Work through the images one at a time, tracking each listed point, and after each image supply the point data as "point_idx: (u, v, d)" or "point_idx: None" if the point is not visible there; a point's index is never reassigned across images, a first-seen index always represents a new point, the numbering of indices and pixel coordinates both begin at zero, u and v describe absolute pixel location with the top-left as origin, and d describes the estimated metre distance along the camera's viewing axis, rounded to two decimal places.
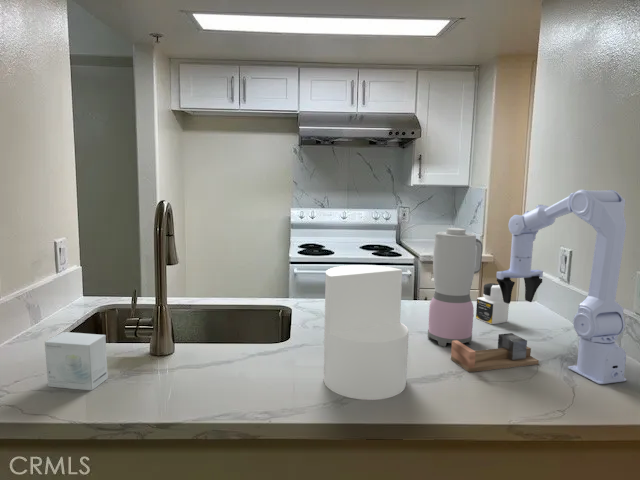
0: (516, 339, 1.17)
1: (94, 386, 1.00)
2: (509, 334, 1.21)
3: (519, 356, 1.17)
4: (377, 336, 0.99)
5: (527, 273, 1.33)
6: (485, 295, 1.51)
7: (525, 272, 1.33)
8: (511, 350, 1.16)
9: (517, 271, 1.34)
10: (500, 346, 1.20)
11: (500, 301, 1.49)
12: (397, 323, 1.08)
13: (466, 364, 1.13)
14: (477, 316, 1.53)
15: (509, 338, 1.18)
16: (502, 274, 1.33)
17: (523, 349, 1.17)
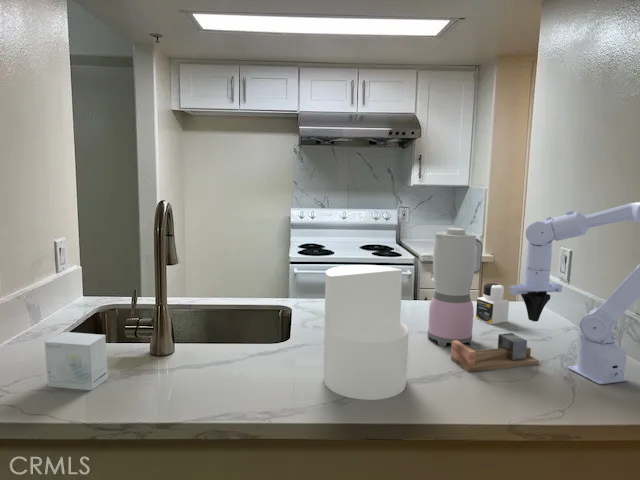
0: (516, 339, 1.17)
1: (94, 386, 1.00)
2: (509, 334, 1.21)
3: (519, 356, 1.17)
4: (377, 336, 0.99)
5: (545, 288, 1.16)
6: (485, 295, 1.51)
7: (542, 287, 1.16)
8: (511, 350, 1.16)
9: (533, 285, 1.16)
10: (500, 346, 1.20)
11: (500, 301, 1.49)
12: (397, 323, 1.08)
13: (466, 364, 1.13)
14: (477, 316, 1.53)
15: (509, 338, 1.18)
16: (516, 289, 1.16)
17: (523, 349, 1.17)
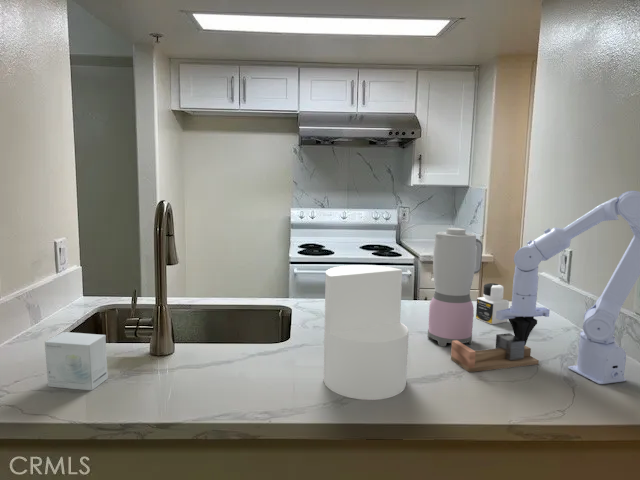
0: (514, 339, 1.17)
1: (94, 386, 1.00)
2: (507, 334, 1.21)
3: (517, 357, 1.17)
4: (377, 336, 0.99)
5: (531, 313, 1.16)
6: (485, 295, 1.51)
7: (529, 312, 1.16)
8: (509, 350, 1.16)
9: (520, 311, 1.16)
10: (498, 346, 1.20)
11: (500, 301, 1.49)
12: (397, 323, 1.08)
13: (466, 364, 1.13)
14: (477, 316, 1.53)
15: (507, 339, 1.18)
16: (503, 314, 1.16)
17: (520, 349, 1.16)
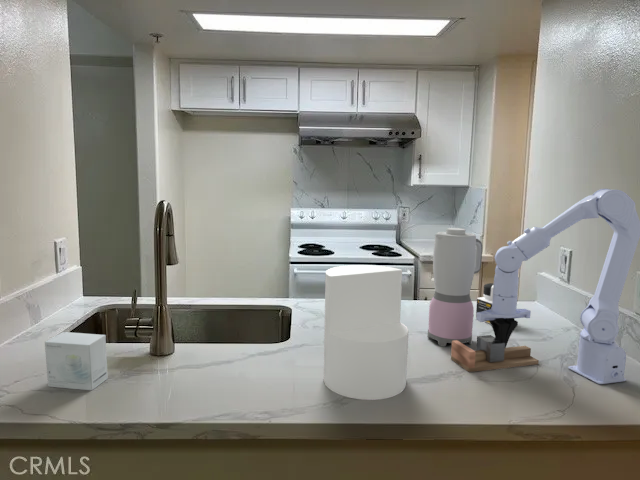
0: (494, 341, 1.16)
1: (94, 386, 1.00)
2: (488, 336, 1.19)
3: (497, 359, 1.15)
4: (377, 336, 0.99)
5: (512, 315, 1.14)
6: (485, 295, 1.51)
7: (509, 313, 1.14)
8: (489, 352, 1.15)
9: (500, 312, 1.15)
10: (478, 348, 1.19)
11: None
12: (397, 323, 1.08)
13: (466, 364, 1.13)
14: None
15: (487, 341, 1.16)
16: (482, 316, 1.14)
17: (500, 351, 1.15)
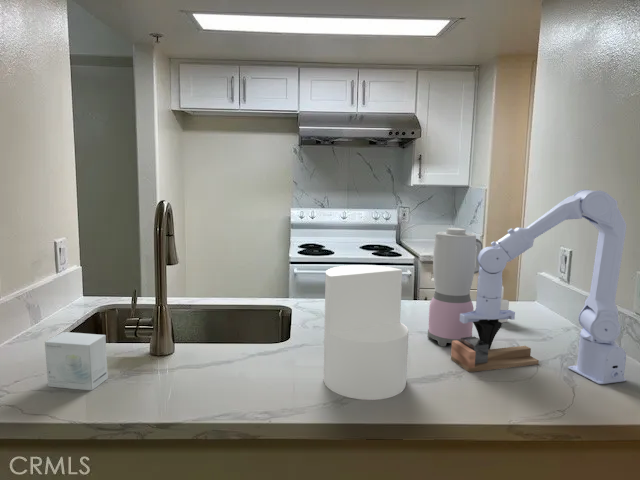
0: (478, 343, 1.14)
1: (94, 386, 1.00)
2: (471, 337, 1.18)
3: (481, 361, 1.14)
4: (377, 336, 0.99)
5: (495, 316, 1.13)
6: None
7: (493, 315, 1.13)
8: None
9: (484, 313, 1.13)
10: None
11: None
12: (397, 323, 1.08)
13: (466, 364, 1.13)
14: None
15: (470, 342, 1.15)
16: (466, 317, 1.13)
17: (484, 353, 1.14)
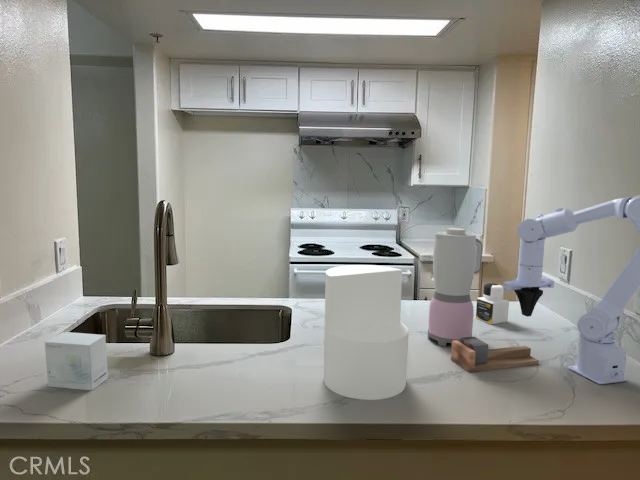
0: (478, 343, 1.14)
1: (94, 386, 1.00)
2: (471, 338, 1.18)
3: (480, 361, 1.14)
4: (377, 336, 0.99)
5: (537, 283, 1.19)
6: (485, 295, 1.51)
7: (535, 282, 1.19)
8: None
9: (526, 281, 1.20)
10: None
11: (500, 301, 1.49)
12: (397, 323, 1.08)
13: (466, 364, 1.13)
14: (477, 316, 1.53)
15: (470, 342, 1.15)
16: (510, 285, 1.19)
17: (484, 353, 1.14)
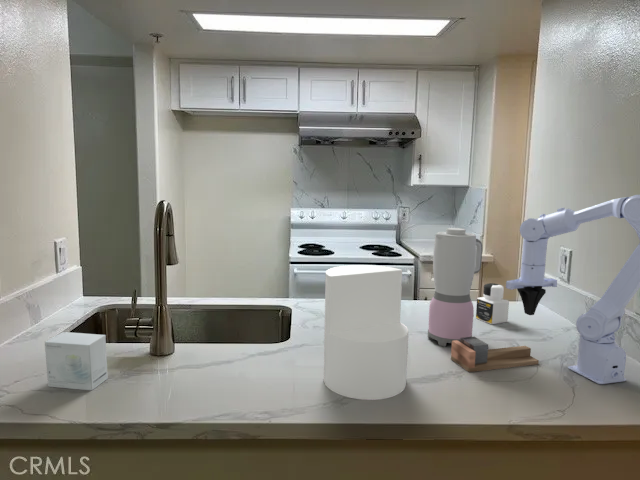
0: (478, 343, 1.14)
1: (94, 386, 1.00)
2: (471, 338, 1.18)
3: (480, 361, 1.14)
4: (377, 336, 0.99)
5: (540, 283, 1.20)
6: (485, 295, 1.51)
7: (538, 281, 1.20)
8: None
9: (529, 280, 1.21)
10: None
11: (500, 301, 1.49)
12: (397, 323, 1.08)
13: (466, 364, 1.13)
14: (477, 316, 1.53)
15: (470, 342, 1.15)
16: (512, 284, 1.20)
17: (484, 353, 1.14)
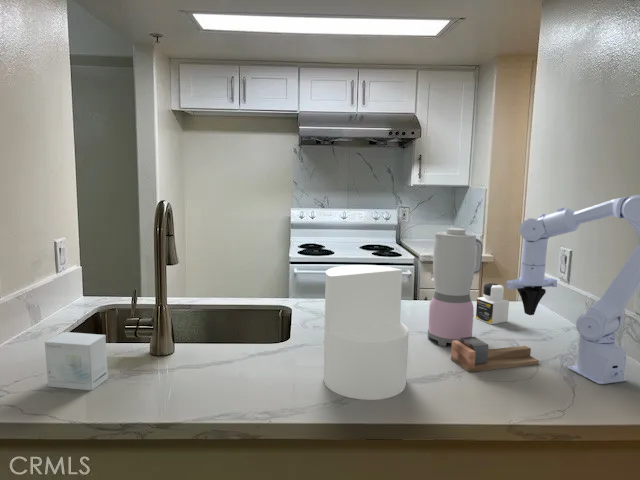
0: (478, 343, 1.14)
1: (94, 386, 1.00)
2: (471, 338, 1.18)
3: (480, 361, 1.14)
4: (377, 336, 0.99)
5: (540, 283, 1.20)
6: (485, 295, 1.51)
7: (538, 281, 1.20)
8: None
9: (529, 280, 1.21)
10: None
11: (500, 301, 1.49)
12: (397, 323, 1.08)
13: (466, 364, 1.13)
14: (477, 316, 1.53)
15: (470, 342, 1.15)
16: (512, 284, 1.20)
17: (484, 353, 1.14)
